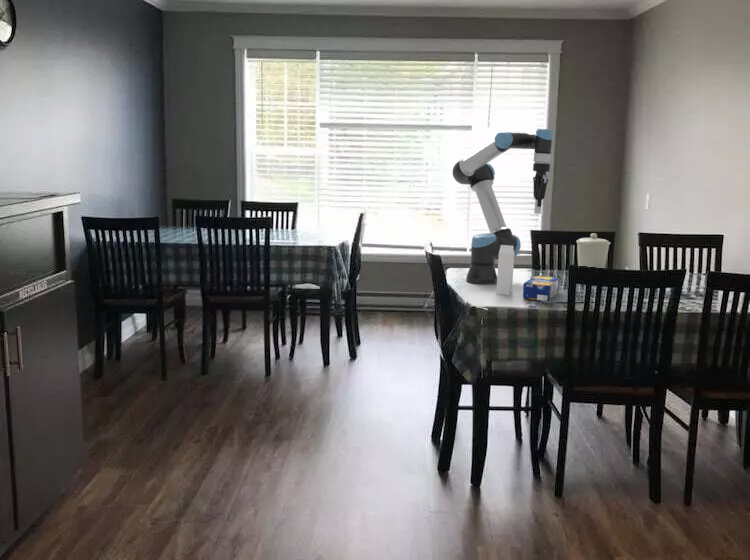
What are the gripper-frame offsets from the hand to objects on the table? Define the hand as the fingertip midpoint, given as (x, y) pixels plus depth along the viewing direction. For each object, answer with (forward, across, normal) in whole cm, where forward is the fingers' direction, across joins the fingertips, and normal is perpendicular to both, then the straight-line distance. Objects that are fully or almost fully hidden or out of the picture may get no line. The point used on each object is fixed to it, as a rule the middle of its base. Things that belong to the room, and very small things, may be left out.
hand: (537, 213), depth 347 cm
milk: (+35, -17, +19) cm, 43 cm away
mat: (+35, -26, -4) cm, 44 cm away
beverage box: (+31, -15, -2) cm, 34 cm away
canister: (+36, +45, -51) cm, 77 cm away
